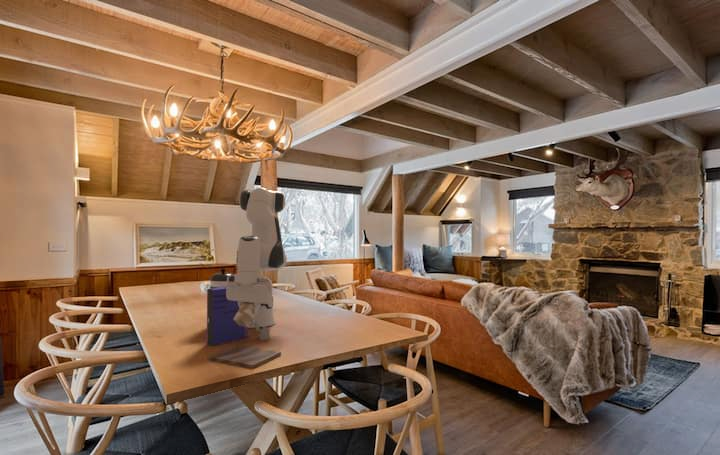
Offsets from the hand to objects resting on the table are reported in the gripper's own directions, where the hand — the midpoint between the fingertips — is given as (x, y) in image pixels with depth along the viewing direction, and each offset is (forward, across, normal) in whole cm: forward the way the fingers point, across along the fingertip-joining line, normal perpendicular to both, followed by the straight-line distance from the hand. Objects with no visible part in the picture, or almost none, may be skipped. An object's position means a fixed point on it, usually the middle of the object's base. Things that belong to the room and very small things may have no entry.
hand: (249, 313), depth 144 cm
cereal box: (+17, +23, -13) cm, 31 cm away
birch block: (+3, 0, +4) cm, 5 cm away
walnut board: (+17, +1, +1) cm, 17 cm away
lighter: (+17, +11, -21) cm, 29 cm away
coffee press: (+17, +43, -31) cm, 56 cm away
